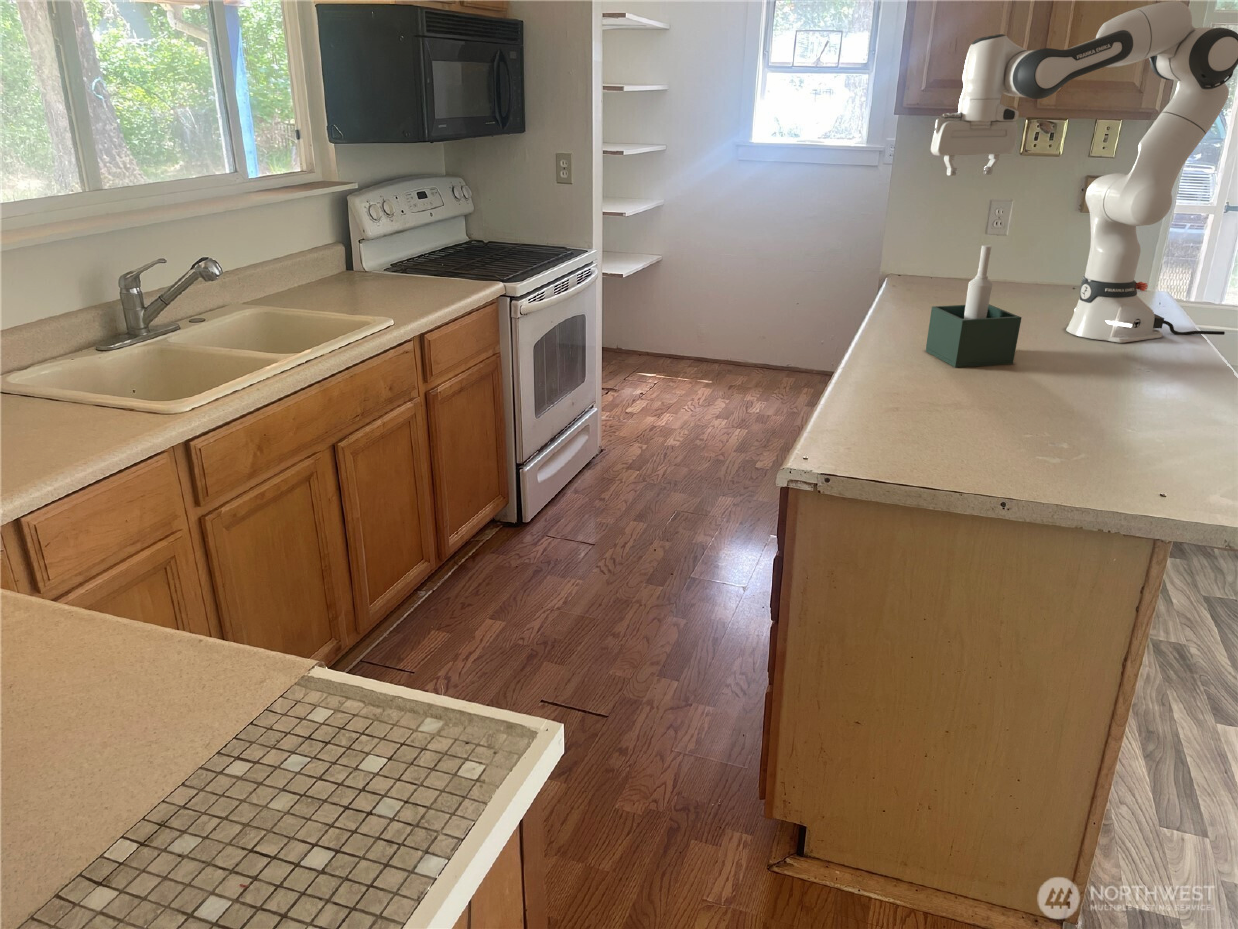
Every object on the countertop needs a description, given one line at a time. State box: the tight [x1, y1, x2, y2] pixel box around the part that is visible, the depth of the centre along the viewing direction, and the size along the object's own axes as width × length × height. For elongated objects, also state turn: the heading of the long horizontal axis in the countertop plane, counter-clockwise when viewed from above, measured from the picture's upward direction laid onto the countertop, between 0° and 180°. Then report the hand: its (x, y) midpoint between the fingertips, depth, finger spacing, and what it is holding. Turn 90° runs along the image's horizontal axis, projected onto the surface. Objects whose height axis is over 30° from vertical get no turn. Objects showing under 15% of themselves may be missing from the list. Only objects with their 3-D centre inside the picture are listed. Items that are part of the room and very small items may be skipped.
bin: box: [925, 303, 1022, 369], centre depth 203 cm, size 15×14×11 cm
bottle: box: [964, 244, 993, 319], centre depth 200 cm, size 5×5×25 cm
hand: (969, 174), depth 207 cm, fingers open, 8 cm apart
